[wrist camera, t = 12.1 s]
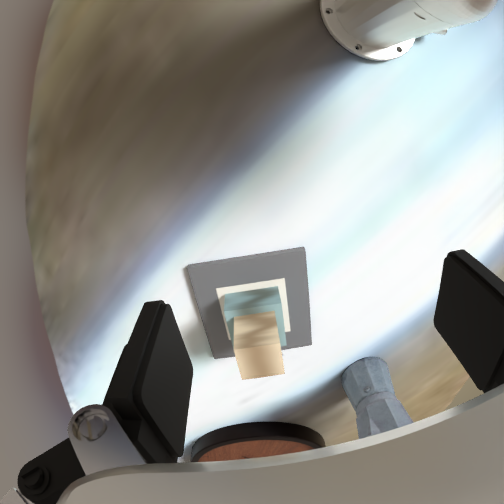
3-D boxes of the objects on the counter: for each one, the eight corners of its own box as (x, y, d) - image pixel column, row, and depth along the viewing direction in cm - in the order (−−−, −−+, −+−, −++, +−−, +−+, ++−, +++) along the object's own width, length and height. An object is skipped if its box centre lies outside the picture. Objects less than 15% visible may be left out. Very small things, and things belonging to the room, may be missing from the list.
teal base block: (277, 285, 41) (281, 303, 37) (283, 327, 44) (286, 345, 40) (224, 293, 41) (223, 311, 37) (234, 334, 44) (234, 352, 40)
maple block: (274, 310, 38) (280, 342, 32) (279, 340, 40) (284, 373, 34) (233, 316, 38) (233, 349, 32) (241, 346, 40) (242, 379, 35)
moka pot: (358, 340, 47) (402, 440, 29) (406, 369, 52) (447, 450, 34) (318, 376, 50) (344, 475, 32) (370, 399, 55) (400, 480, 37)
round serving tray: (188, 484, 63) (195, 429, 51) (189, 472, 67) (196, 413, 54) (302, 489, 67) (349, 435, 54) (300, 478, 71) (345, 420, 58)
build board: (303, 246, 40) (305, 250, 39) (310, 340, 47) (311, 345, 46) (188, 264, 40) (187, 268, 39) (214, 354, 47) (214, 359, 46)
